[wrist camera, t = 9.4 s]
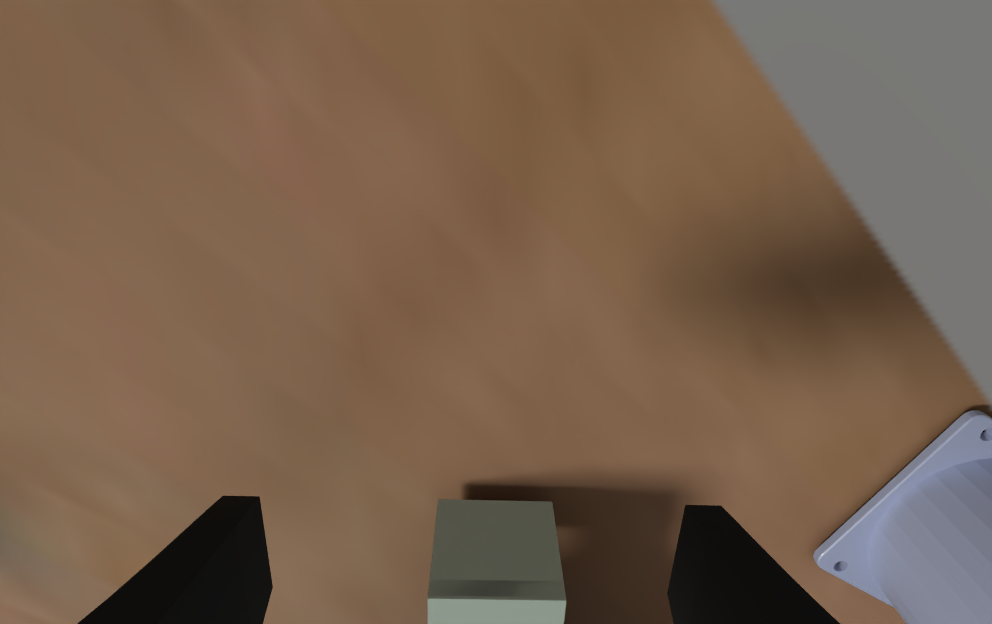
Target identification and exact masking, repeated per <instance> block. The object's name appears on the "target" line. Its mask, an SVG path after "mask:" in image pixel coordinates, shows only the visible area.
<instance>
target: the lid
mask: <svg viewBox="0 0 992 624" xmlns="http://www.w3.org/2000/svg"><path fill="white" fill-rule="evenodd" d="M565 609H566V594H565V587H564V581H563V574H562V567H561V560H560V553H559V546H558V539H557V532H556V525H555V518H554V511H553V504H552V502H548V501H498V500H448V499H438V505H437V514H436V524H435V534H434V543H433V553H432V562H431V572H430V582H429V591H428V624H564V617H565Z"/></svg>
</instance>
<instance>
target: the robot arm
mask: <svg viewBox="0 0 992 624" xmlns="http://www.w3.org/2000/svg"><path fill="white" fill-rule="evenodd" d="M984 430H986V431H985V432H983V431H984ZM982 432H983V433H982ZM813 557H814V560H815V562H816V563H817V565H818V566H819V567H820V568H821V569H823V570H825V571H827V572H829V573H830V574H832V575H834V576H836V577H838V578H840V579H842V580H844V581H845V582H847V583H849V584H851V585H853V586H855V587H857V588H858V589H860V590H862V591H864V592H866V593H868V594H870V595H872V596H873V597H875V598H877V599H879V600H881V601H883V602H885V603H887V604H888V605H890V606H892V607H894V608H895V609H896V610H897V612H898V613H899V614H900V616H901V617H902V619H903V620H904V621H905V623H906V624H992V418H991V417H989V416H988V415H986V414H985V413H983V412H981V411H979V410H972V411H969V412H966V413H964V414H963V415H962V416H960V417H959V418H958V419H957V420H956V421H955V422H954V423H953V424H952V425H951V426H950V427H948V428H947V429H946V430H945V431H944V432H943V433H942V434H941V435H940V436H939V437H938V438H937V439H935V440H934V441H933V442H932V443H931V444H930V445H929V446H928V447H927V448H926V449H925V450H924V451H922V452H921V453H920V454H919V455H918V456H917V457H916V458H915V459H914V460H913V461H912V462H911V463H909V464H908V465H907V466H906V467H905V468H904V469H903V470H902V471H901V472H900V473H899V474H898V475H896V476H895V477H894V478H893V479H892V480H891V481H890V482H889V483H888V484H887V485H886V486H885V487H883V488H882V489H881V490H880V491H879V492H878V493H877V494H876V495H875V496H874V497H873V498H871V499H870V500H869V501H868V502H867V503H866V504H865V505H864V506H863V507H862V508H861V509H860V510H858V511H857V512H856V513H855V514H854V515H853V516H852V517H851V518H850V519H849V520H848V521H847V522H845V523H844V524H843V525H842V526H841V527H840V528H839V529H838V530H837V531H836V532H835V533H834V534H832V535H831V536H830V537H829V538H828V539H827V540H826V541H825V542H824V543H823V544H822V545H821V546H819V547H818V548H817V550H816V551H815V552H814V556H813ZM837 562H838V563H837ZM272 588H273V586H272V579H271V572H270V565H269V559H268V552H267V545H266V538H265V531H264V524H263V517H262V510H261V504H260V497H256V496H222V497H221V498H220V499H219V500H218V501H217V502H215V503H214V504H213V505H212V506H211V507H210V508H209V509H207V510H206V511H205V512H204V513H203V514H202V515H201V516H200V517H199V518H197V519H196V520H195V521H194V522H193V523H192V524H191V525H190V526H189V527H188V528H186V529H185V530H184V531H183V532H182V533H181V534H180V535H179V536H178V537H177V538H176V539H174V540H173V541H172V542H171V543H170V544H169V545H168V546H167V547H166V548H165V549H163V550H162V551H161V552H160V553H159V554H158V555H157V556H156V557H155V558H153V559H152V560H151V561H150V562H149V563H148V564H147V565H146V566H144V567H143V568H142V569H141V570H140V571H139V572H138V573H136V574H135V575H134V576H133V577H132V578H131V579H130V580H129V581H127V582H126V583H125V584H124V585H123V586H122V587H121V588H119V589H118V590H117V591H116V592H115V593H114V594H113V595H111V596H110V597H109V598H108V599H107V600H106V601H104V602H103V603H102V604H101V605H100V606H98V607H97V608H96V609H95V610H93V611H92V612H91V613H90V614H89V615H87V616H86V617H85V618H84V619H82V620H81V621H80V622H79V623H78V624H263V621H264V617H265V613H266V610H267V606H268V602H269V599H270V595H271V591H272ZM667 594H668V598H669V603H670V608H671V612H672V617H673V622H674V624H840V623H839V622H838V621H837V620H835V619H834V618H833V617H832V616H831V615H830V614H829V613H828V612H827V611H826V610H825V609H824V608H823V607H822V606H821V605H820V604H818V603H817V602H816V601H815V600H814V599H813V598H812V597H811V596H810V595H809V594H808V593H807V592H806V591H805V590H804V589H803V588H802V587H801V586H800V585H799V584H798V583H797V582H796V581H795V580H794V579H793V578H792V577H791V576H790V575H789V574H788V573H787V572H786V571H785V570H784V569H783V568H782V567H781V566H780V565H779V564H778V563H777V562H776V561H775V560H774V559H773V558H772V557H771V556H770V555H769V554H768V553H767V552H766V551H765V550H764V549H763V548H762V547H761V546H760V545H759V544H758V543H757V542H756V541H755V540H754V539H753V538H752V537H751V536H750V535H749V534H748V533H747V532H746V531H745V530H744V529H743V528H742V527H741V526H740V524H739V523H738V522H737V521H736V520H735V519H734V518H733V517H732V516H731V515H730V514H729V513H728V512H727V511H726V510H725V509H724V508H723V507H722V506H708V505H685V509H684V514H683V519H682V524H681V529H680V534H679V539H678V544H677V549H676V554H675V559H674V563H673V568H672V573H671V578H670V583H669V588H668V593H667Z"/></svg>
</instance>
